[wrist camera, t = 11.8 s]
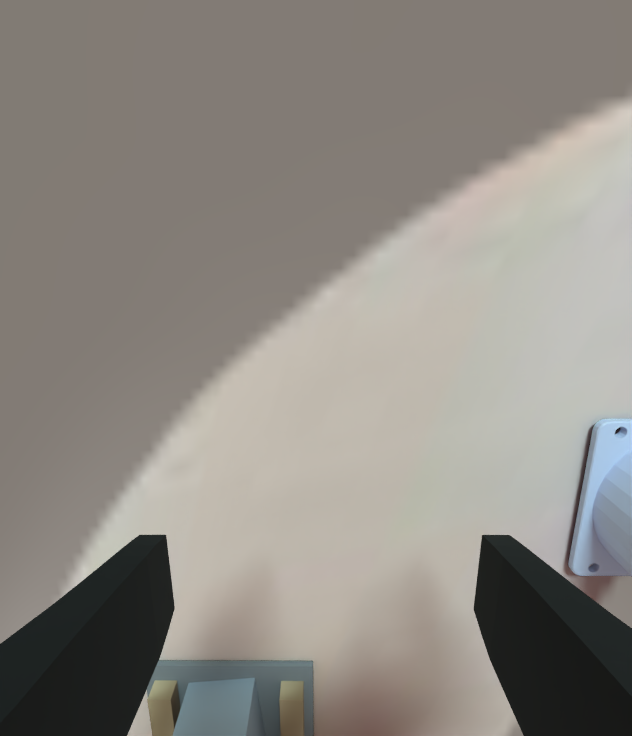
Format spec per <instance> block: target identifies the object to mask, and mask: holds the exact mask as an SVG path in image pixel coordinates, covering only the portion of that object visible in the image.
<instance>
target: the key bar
mask: <svg viewBox="0 0 632 736" xmlns="http://www.w3.org/2000/svg"><path fill="white" fill-rule="evenodd" d="M172 736H266V734H265V729H264V723H263V718H262V713H261V708H260V702H259V697H258V692H257V687H256V681H255V678H245V679H232V680H219V681H206V682H193V683H188V687H187V690H186V693H185V696H184V700H183V703H182V706H181V709H180V713H179V716H178V719H177V722H176V726H175V729H174V732H173V735H172Z"/></svg>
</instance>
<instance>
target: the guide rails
mask: <svg viewBox="0 0 632 736" xmlns="http://www.w3.org/2000/svg"><path fill="white" fill-rule="evenodd" d="M147 701H148V708H149V714H150V721H151V728H152V735H153V736H172V735H173V732H174V729H175V726H176V722H177V719H178V716H179V713H180V701H179V692H178V684H177V680H155V681H154V684H153V686H152V689H151V691H150V694H149V697H148V699H147ZM279 702H280V729H281V736H304V681H281V688H280V699H279Z"/></svg>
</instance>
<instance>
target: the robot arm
mask: <svg viewBox="0 0 632 736" xmlns="http://www.w3.org/2000/svg"><path fill="white" fill-rule="evenodd" d="M619 427H621V430H620V432H618V433H617V434H615V431H616V430H617V429H618V428H619ZM591 564H593V565H591ZM589 565H591V566H589ZM569 567H570V569H571V570H572V571H573V573H574V574H576V575H579V576H632V419H602V420H600V421H598V422H597V423H596V424H595V425H594V428H593V431H592V436H591V442H590V447H589V453H588V458H587V464H586V469H585V475H584V480H583V486H582V491H581V497H580V502H579V508H578V513H577V519H576V524H575V530H574V535H573V541H572V546H571V552H570V557H569ZM474 611H475V615H476V618H477V621H478V624H479V628H480V631H481V634H482V637H483V640H484V643H485V646H486V649H487V652H488V655H489V658H490V660H491V663H492V665H493V667H494V670H495V672H496V674H497V677H498V679H499V681H500V683H501V686H502V688H503V690H504V692H505V695H506V697H507V699H508V702H509V704H510V706H511V708H512V710H513V713H514V715H515V717H516V719H517V722H518V724H519V726H520V728H521V730H522V733H523V735H524V736H632V628H630V627H629V626H627V625H626V624H625V623H623V622H622V621H621V620H619V619H618V618H616V617H615V616H613V615H612V614H611V613H610V612H608V611H607V610H606V609H604V608H603V607H602V606H600V605H599V604H598V603H596V602H595V601H594V600H592V599H591V598H590V597H589V596H587V595H586V594H585V593H583V592H582V591H581V590H579V589H578V588H577V587H576V586H574V585H573V584H572V583H570V582H569V581H568V580H567V579H565V578H564V577H563V576H562V575H560V574H559V573H558V572H556V571H555V570H554V569H553V568H551V567H550V566H549V565H548V564H546V563H545V562H544V561H543V560H541V559H540V558H539V557H537V556H536V555H535V554H534V553H532V552H531V551H530V550H529V549H527V548H526V547H525V546H523V545H522V544H521V543H519V542H518V541H517V540H515V539H514V538H513V537H511V536H510V535H482V542H481V550H480V559H479V568H478V576H477V585H476V594H475V602H474ZM173 612H174V599H173V591H172V582H171V573H170V565H169V556H168V548H167V539H166V535H139V536H138V537H136V538H135V539H134V540H132V541H131V542H130V543H128V544H127V545H126V546H125V547H123V548H122V549H121V550H120V551H119V552H117V553H116V554H115V555H114V556H112V557H111V558H110V559H109V560H108V561H106V562H105V563H104V564H103V565H101V566H100V567H99V568H98V569H97V570H95V571H94V572H93V573H92V574H90V575H89V576H88V577H87V578H86V579H84V580H83V581H82V582H81V583H79V584H78V585H77V586H76V587H74V588H73V589H72V590H71V591H69V592H68V593H67V594H66V595H64V596H63V597H62V598H61V599H59V600H58V601H57V602H56V603H54V604H53V605H52V606H50V607H49V608H48V609H46V610H45V611H44V612H42V613H41V614H40V615H38V616H37V617H36V618H34V619H33V620H32V621H30V622H29V623H28V624H26V625H25V626H24V627H23V628H21V629H20V630H18V631H17V632H16V633H14V634H13V635H12V636H11V637H9V638H8V639H6V640H5V641H4V642H2V643H1V644H0V736H127V734H128V732H129V729H130V727H131V725H132V722H133V720H134V718H135V715H136V713H137V711H138V708H139V706H140V704H141V701H142V699H143V697H144V694H145V692H146V689H147V687H148V685H149V682H150V680H151V677H152V675H153V673H154V670H155V668H156V665H157V663H158V660H159V658H160V655H161V652H162V649H163V645H164V642H165V639H166V636H167V633H168V629H169V626H170V622H171V619H172V615H173Z"/></svg>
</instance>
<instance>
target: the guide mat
mask: <svg viewBox="0 0 632 736" xmlns="http://www.w3.org/2000/svg"><path fill="white" fill-rule="evenodd" d="M245 678H255V681H256V687H257V692H258V697H259V702H260V708H261V713H262V718H263V723H264V729H265V734H266V736H281V729H280V702H279V699H280V688H281V681H304V736H314V731H313V661H158V663H157V665H156V668H155V670H154V673H153V675H152V677H151V680H150V682H149V685H148V687H147V694H148V697H149V694H150V691H151V689H152V686H153V684H154V681H155V680H177V684H178V692H179V701H180V709H181V706H182V703H183V700H184V696H185V693H186V690H187V687H188V683H193V682H206V681H219V680H232V679H245Z"/></svg>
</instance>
